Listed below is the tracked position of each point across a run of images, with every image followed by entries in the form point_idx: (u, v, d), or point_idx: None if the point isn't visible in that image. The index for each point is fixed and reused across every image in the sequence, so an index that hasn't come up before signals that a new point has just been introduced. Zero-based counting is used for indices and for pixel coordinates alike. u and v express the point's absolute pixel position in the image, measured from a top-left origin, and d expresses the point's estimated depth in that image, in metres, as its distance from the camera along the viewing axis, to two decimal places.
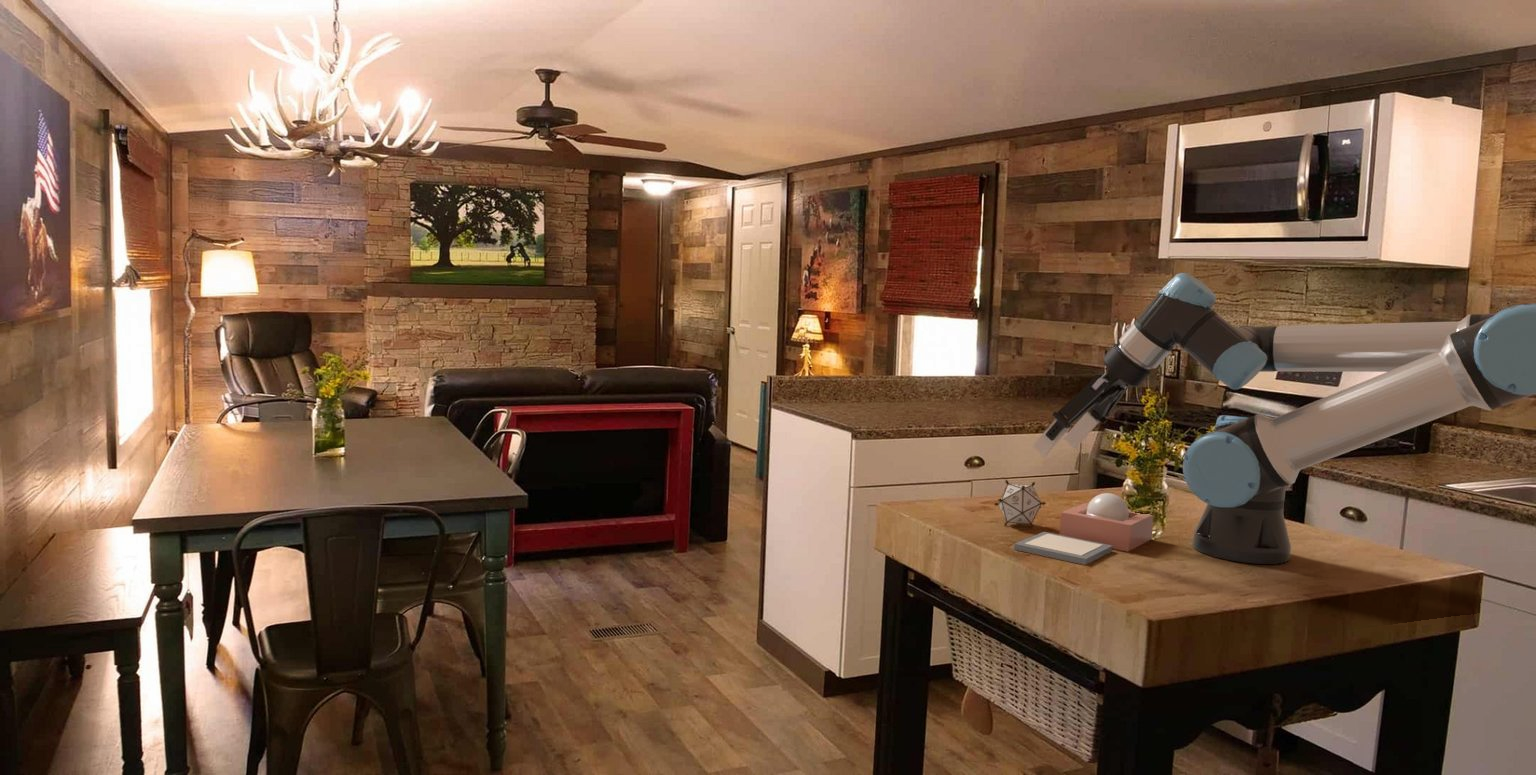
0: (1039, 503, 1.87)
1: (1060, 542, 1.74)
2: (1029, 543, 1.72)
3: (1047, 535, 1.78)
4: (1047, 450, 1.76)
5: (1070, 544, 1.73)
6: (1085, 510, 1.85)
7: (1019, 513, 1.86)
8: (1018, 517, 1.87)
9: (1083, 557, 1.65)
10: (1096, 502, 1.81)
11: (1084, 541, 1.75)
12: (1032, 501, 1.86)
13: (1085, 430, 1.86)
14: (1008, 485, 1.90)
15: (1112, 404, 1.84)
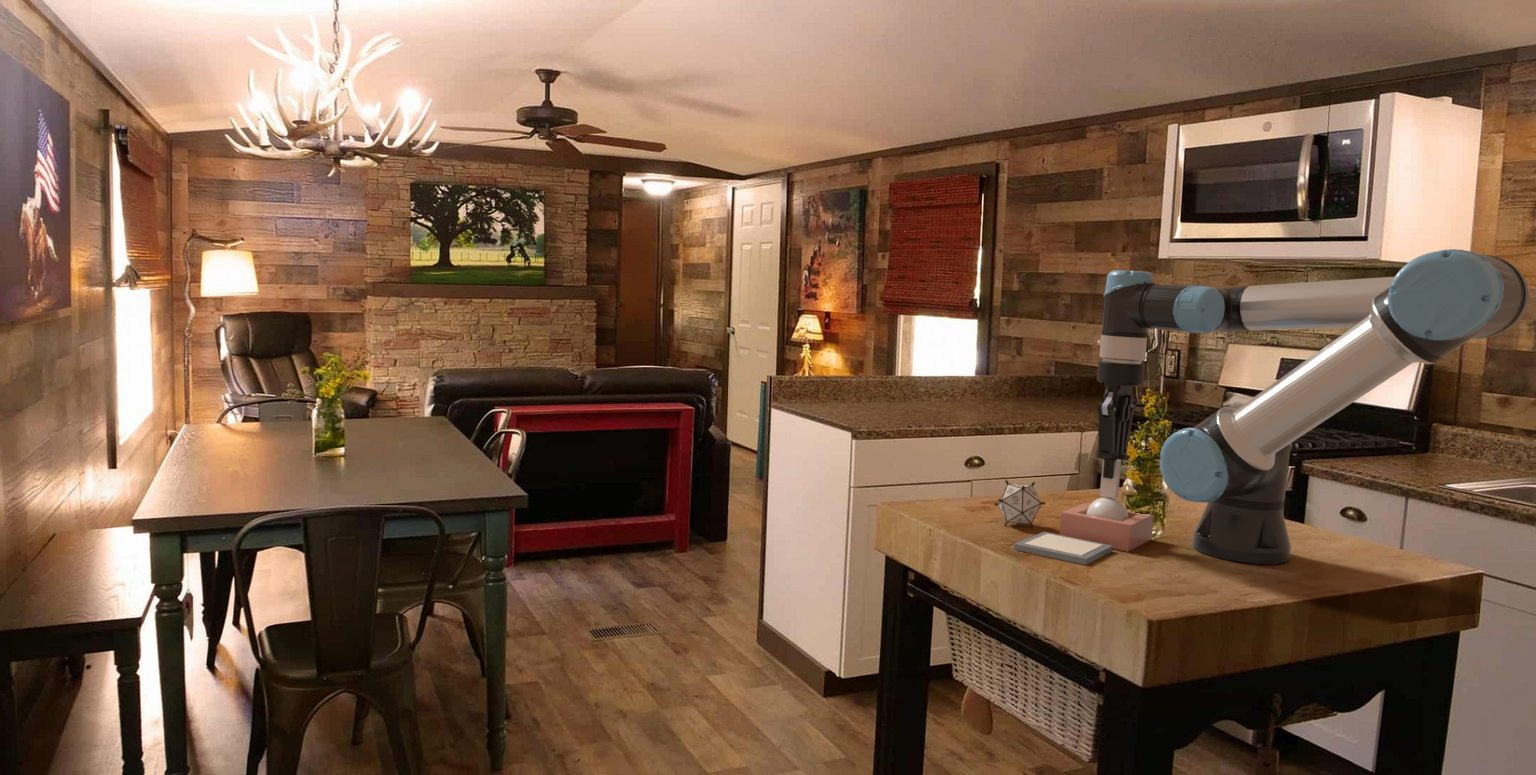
0: (1039, 503, 1.87)
1: (1060, 542, 1.74)
2: (1029, 543, 1.72)
3: (1047, 535, 1.78)
4: (1114, 490, 1.81)
5: (1070, 544, 1.73)
6: (1085, 510, 1.85)
7: (1019, 513, 1.86)
8: (1018, 517, 1.87)
9: (1083, 557, 1.65)
10: (1096, 506, 1.81)
11: (1084, 541, 1.75)
12: (1032, 501, 1.86)
13: None
14: (1008, 485, 1.90)
15: (1126, 432, 1.83)
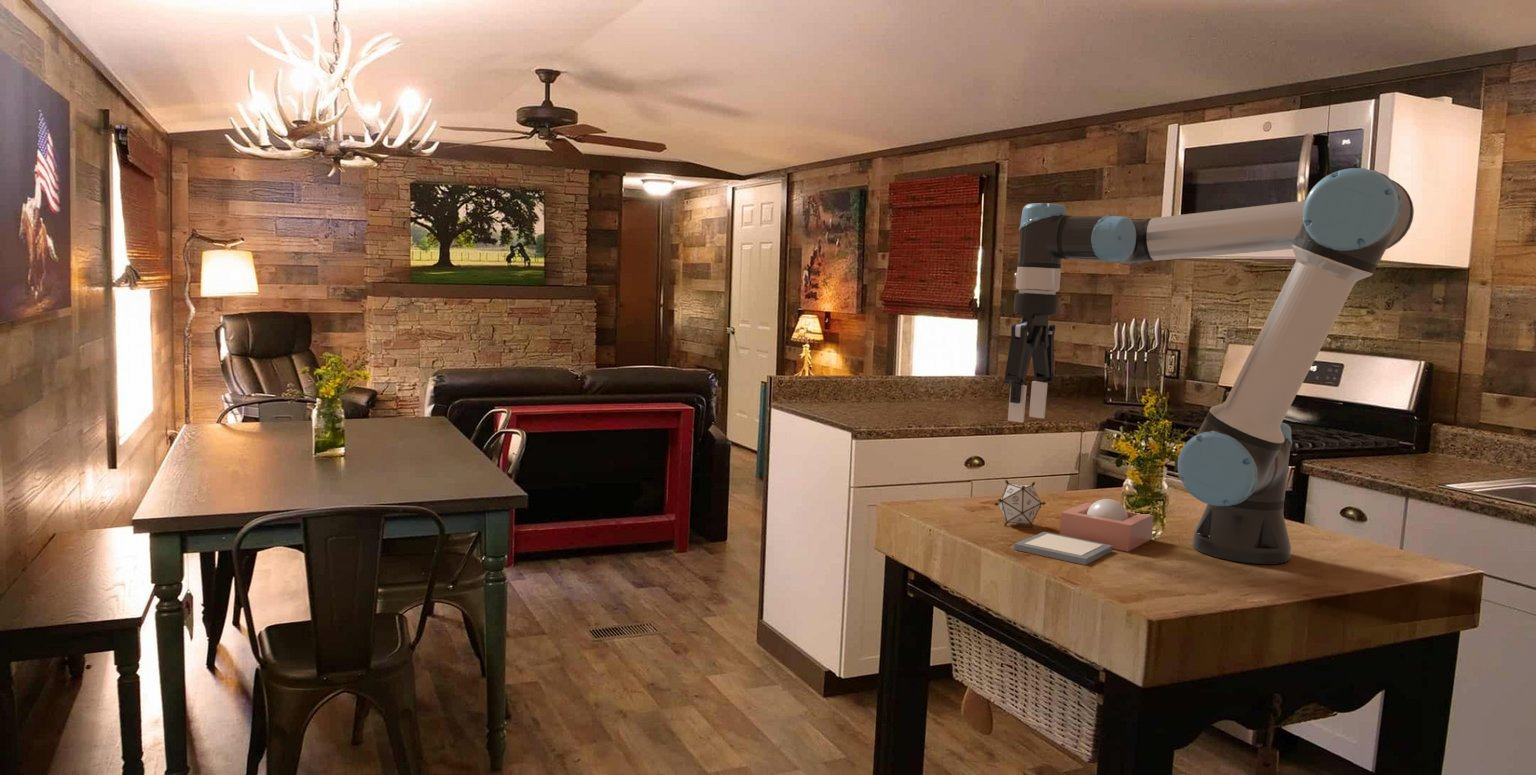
0: (1039, 503, 1.87)
1: (1060, 542, 1.74)
2: (1029, 543, 1.72)
3: (1047, 535, 1.78)
4: (1021, 414, 1.83)
5: (1070, 544, 1.73)
6: (1085, 510, 1.85)
7: (1019, 513, 1.86)
8: (1018, 517, 1.87)
9: (1083, 557, 1.65)
10: (1096, 508, 1.81)
11: (1084, 541, 1.75)
12: (1032, 502, 1.86)
13: (1041, 396, 1.90)
14: (1008, 485, 1.90)
15: (1050, 358, 1.90)
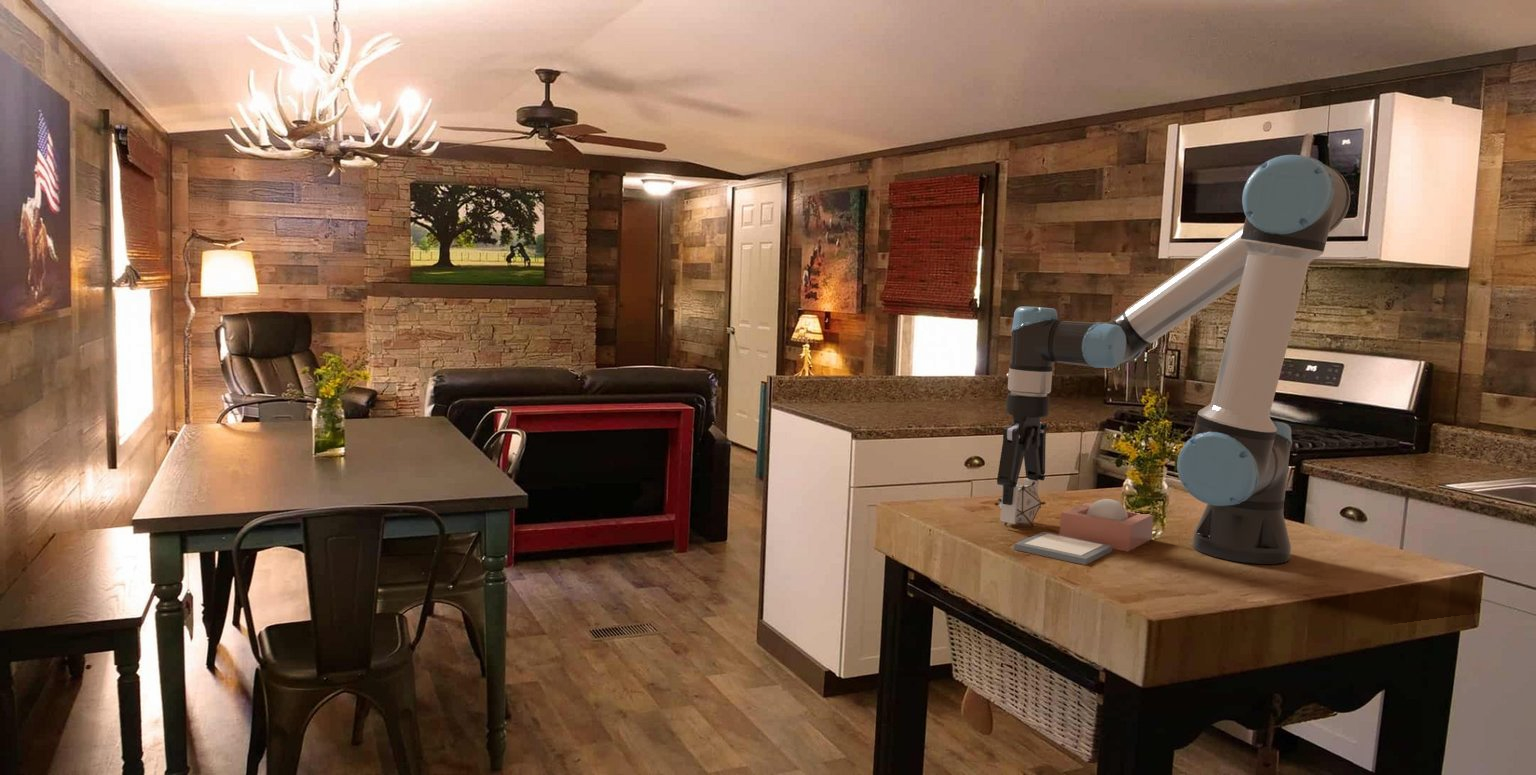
0: (1039, 503, 1.87)
1: (1060, 542, 1.74)
2: (1029, 543, 1.72)
3: (1047, 535, 1.78)
4: (1013, 516, 1.85)
5: (1070, 544, 1.73)
6: (1085, 510, 1.85)
7: (1019, 513, 1.86)
8: (1018, 517, 1.87)
9: (1083, 557, 1.65)
10: (1096, 508, 1.81)
11: (1084, 541, 1.75)
12: (1032, 501, 1.86)
13: None
14: None
15: (1041, 456, 1.92)
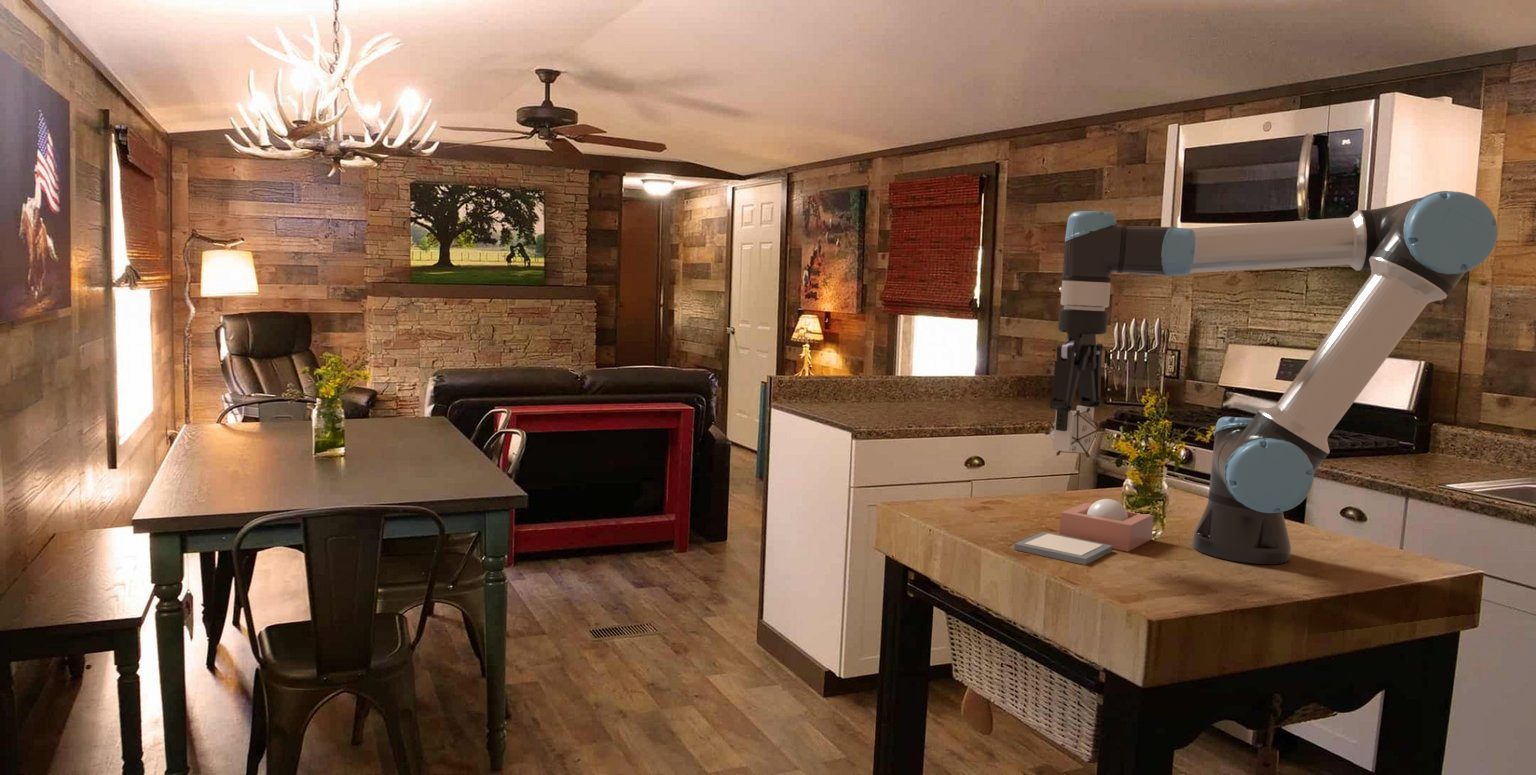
0: (1096, 430, 1.68)
1: (1060, 542, 1.74)
2: (1029, 543, 1.72)
3: (1047, 535, 1.78)
4: (1068, 443, 1.67)
5: (1070, 544, 1.73)
6: (1085, 510, 1.85)
7: (1074, 440, 1.68)
8: (1073, 445, 1.68)
9: (1083, 557, 1.65)
10: (1096, 508, 1.81)
11: (1084, 541, 1.75)
12: (1088, 428, 1.68)
13: None
14: None
15: (1096, 380, 1.74)
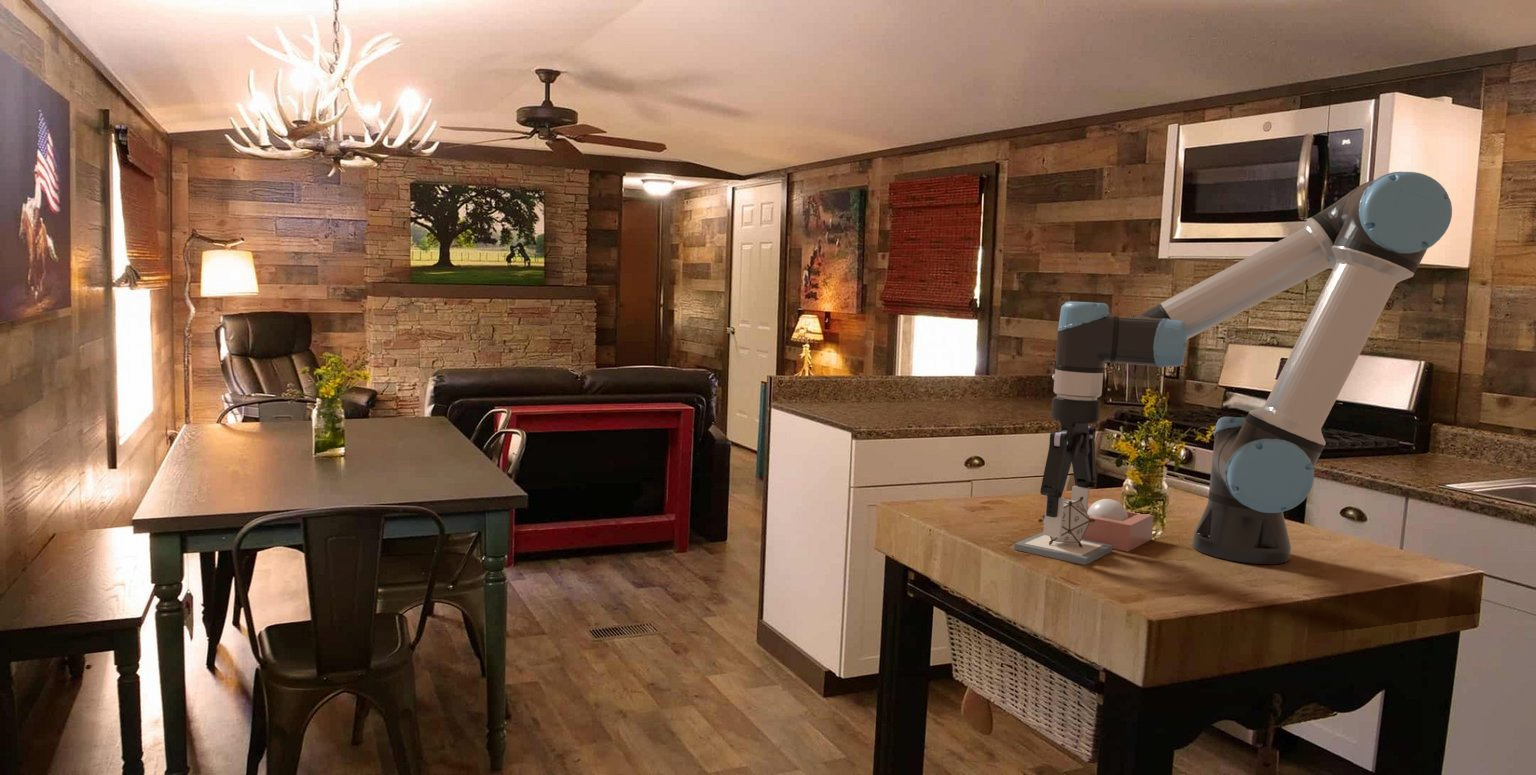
0: (1088, 520, 1.70)
1: (1060, 542, 1.74)
2: (1029, 543, 1.72)
3: None
4: (1058, 529, 1.67)
5: (1070, 544, 1.73)
6: None
7: (1066, 531, 1.69)
8: (1065, 535, 1.70)
9: (1083, 557, 1.65)
10: (1096, 508, 1.81)
11: (1084, 541, 1.75)
12: (1080, 518, 1.69)
13: (1082, 503, 1.76)
14: None
15: (1091, 463, 1.76)
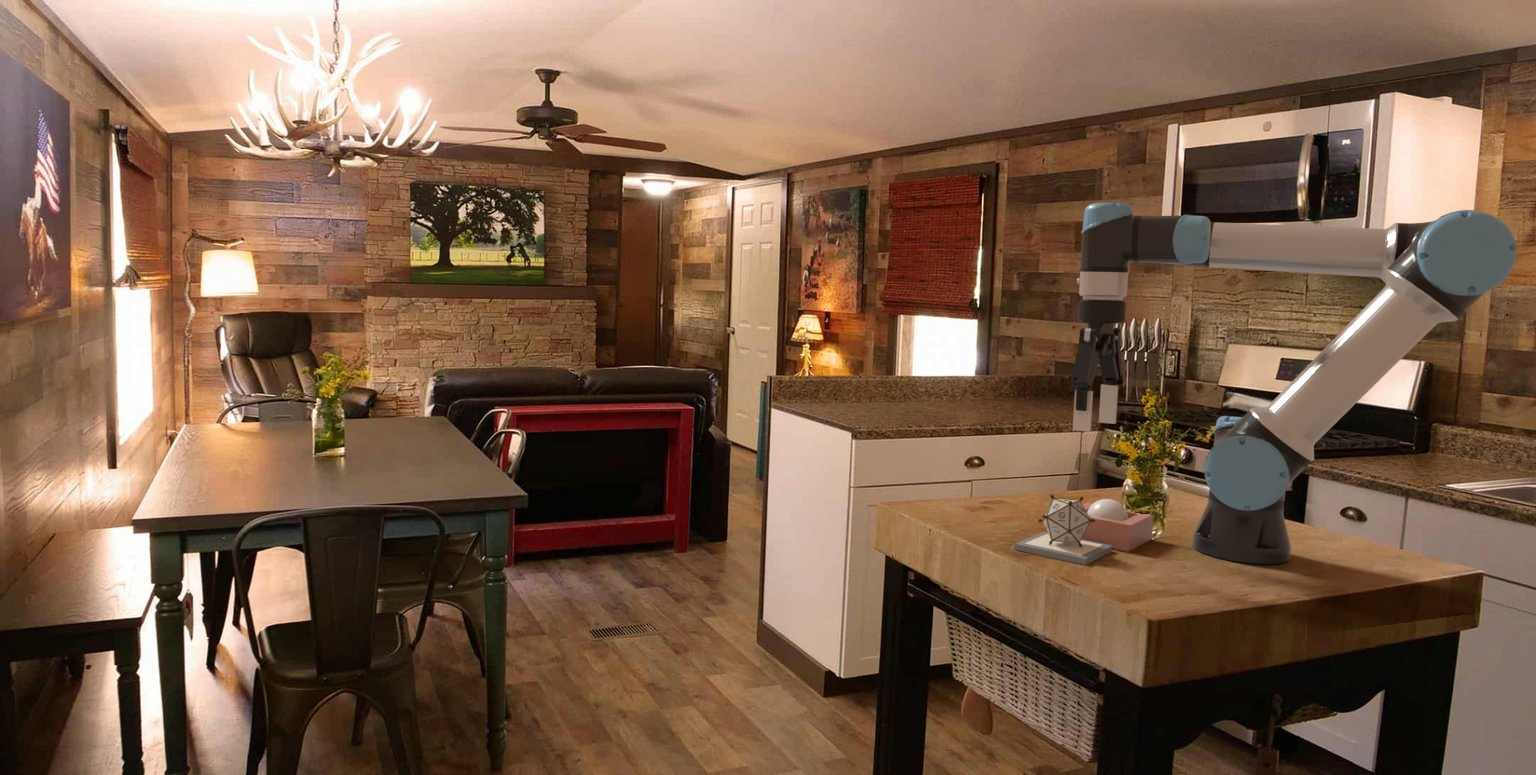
0: (1088, 520, 1.70)
1: (1060, 542, 1.74)
2: (1029, 543, 1.72)
3: (1047, 535, 1.78)
4: (1088, 423, 1.68)
5: (1070, 544, 1.73)
6: None
7: (1066, 531, 1.69)
8: (1065, 535, 1.70)
9: (1083, 557, 1.65)
10: (1096, 508, 1.81)
11: (1084, 541, 1.75)
12: (1080, 518, 1.69)
13: (1112, 400, 1.79)
14: (1053, 500, 1.73)
15: (1117, 362, 1.79)
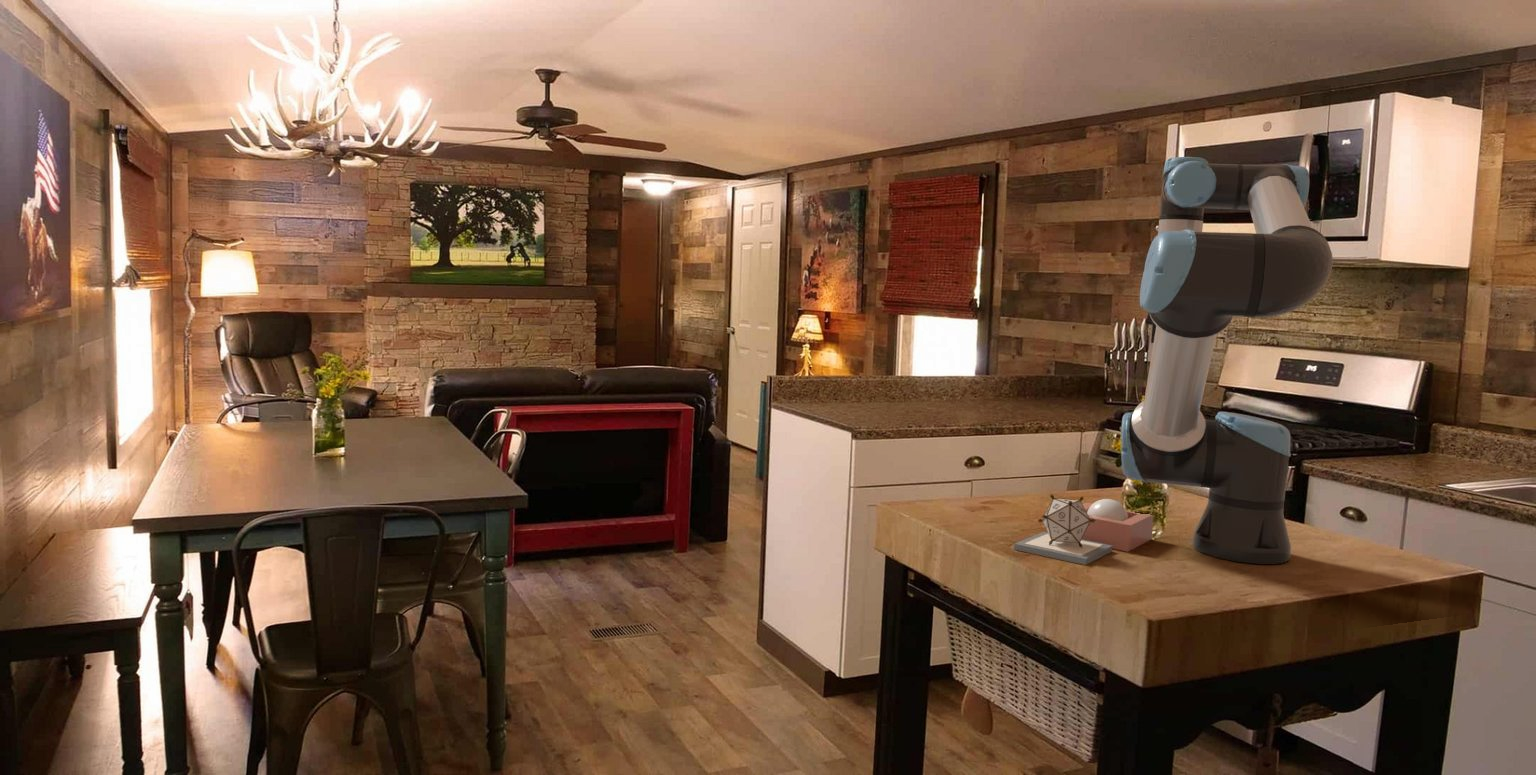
0: (1088, 520, 1.70)
1: (1060, 542, 1.74)
2: (1029, 543, 1.72)
3: (1047, 535, 1.78)
4: None
5: (1070, 544, 1.73)
6: None
7: (1066, 531, 1.69)
8: (1065, 535, 1.70)
9: (1083, 557, 1.65)
10: (1096, 508, 1.81)
11: (1084, 541, 1.75)
12: (1080, 518, 1.69)
13: None
14: (1053, 500, 1.73)
15: None
